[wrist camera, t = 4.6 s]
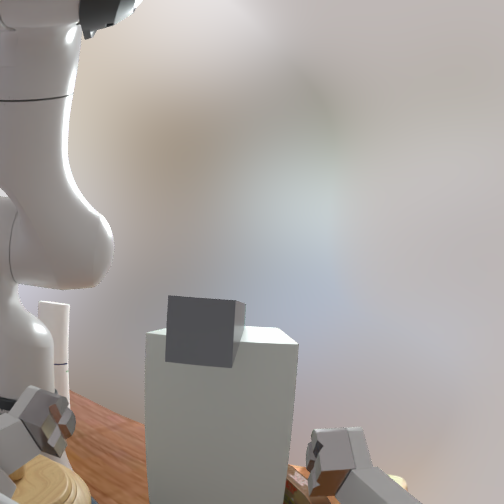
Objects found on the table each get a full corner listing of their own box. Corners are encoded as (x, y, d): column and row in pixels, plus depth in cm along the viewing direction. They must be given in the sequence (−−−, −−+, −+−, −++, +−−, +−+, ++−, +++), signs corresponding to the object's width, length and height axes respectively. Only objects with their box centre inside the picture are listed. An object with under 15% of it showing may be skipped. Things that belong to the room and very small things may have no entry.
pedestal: (160, 583, 16) (146, 332, 20) (187, 506, 32) (190, 322, 36) (268, 593, 16) (298, 344, 20) (263, 512, 32) (278, 327, 36)
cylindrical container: (34, 413, 50) (32, 299, 54) (53, 406, 57) (52, 301, 61) (58, 423, 49) (55, 304, 53) (76, 415, 56) (76, 305, 60)
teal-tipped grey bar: (164, 361, 11) (168, 295, 12) (221, 325, 34) (222, 302, 34) (231, 368, 11) (235, 300, 12) (244, 327, 34) (245, 304, 34)
